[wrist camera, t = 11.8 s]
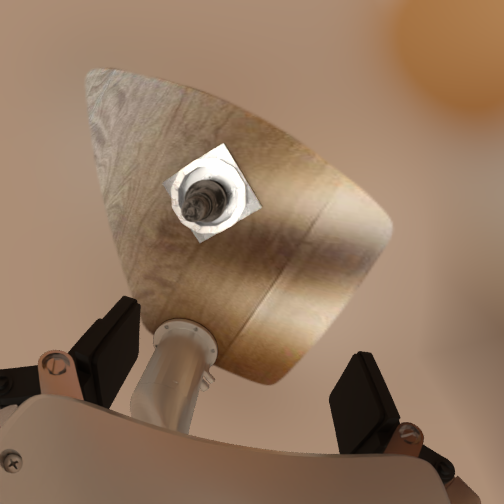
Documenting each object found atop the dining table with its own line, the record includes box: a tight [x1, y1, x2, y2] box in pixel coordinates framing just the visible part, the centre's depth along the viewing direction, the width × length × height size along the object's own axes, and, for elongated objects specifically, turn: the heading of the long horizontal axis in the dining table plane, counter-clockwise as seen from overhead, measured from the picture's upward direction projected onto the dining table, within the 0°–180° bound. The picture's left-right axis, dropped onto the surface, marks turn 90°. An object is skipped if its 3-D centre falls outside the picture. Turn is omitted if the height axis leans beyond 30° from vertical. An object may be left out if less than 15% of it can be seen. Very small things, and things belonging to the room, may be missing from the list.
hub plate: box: [162, 143, 262, 243], centre depth 40 cm, size 11×11×4 cm
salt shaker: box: [181, 180, 228, 222], centre depth 35 cm, size 6×6×12 cm
